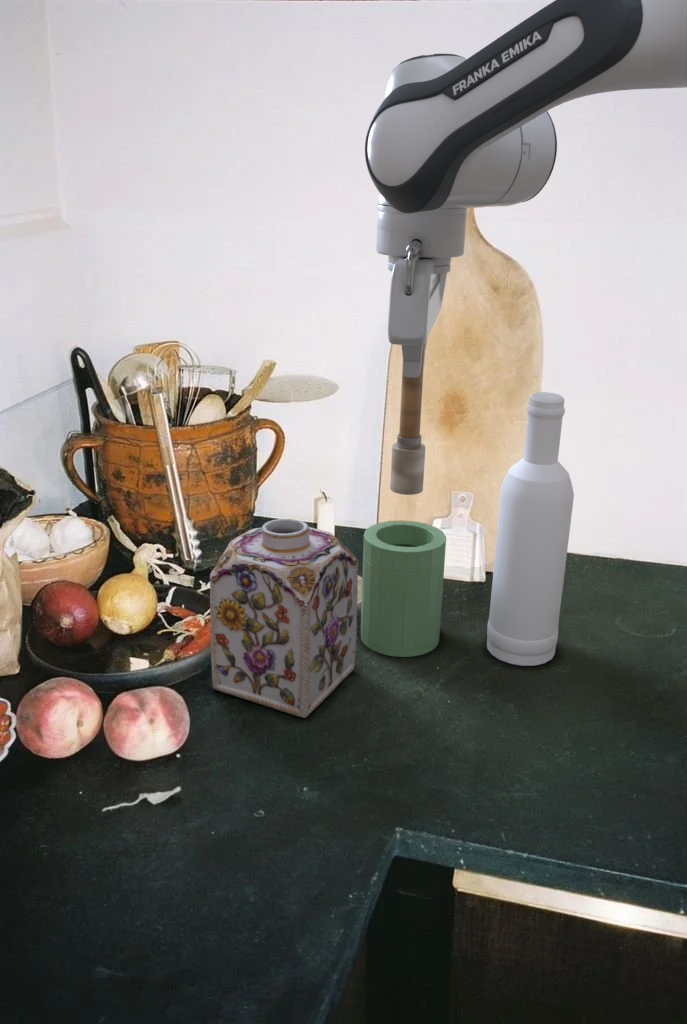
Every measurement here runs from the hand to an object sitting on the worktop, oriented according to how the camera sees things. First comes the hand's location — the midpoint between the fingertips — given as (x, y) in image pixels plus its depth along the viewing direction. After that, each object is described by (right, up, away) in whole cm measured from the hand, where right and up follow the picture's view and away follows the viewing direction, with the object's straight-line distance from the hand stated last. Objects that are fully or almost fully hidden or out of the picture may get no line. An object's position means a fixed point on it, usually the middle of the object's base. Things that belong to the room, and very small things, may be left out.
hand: (413, 372), depth 99 cm
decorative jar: (-14, -33, +2) cm, 36 cm away
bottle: (+13, -31, +10) cm, 35 cm away
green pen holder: (-1, -29, +12) cm, 32 cm away
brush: (0, -12, +5) cm, 13 cm away
